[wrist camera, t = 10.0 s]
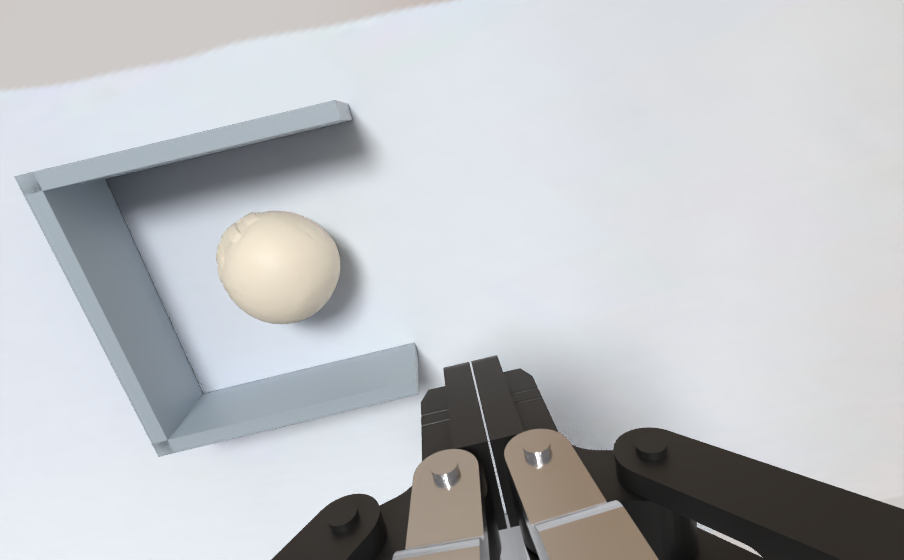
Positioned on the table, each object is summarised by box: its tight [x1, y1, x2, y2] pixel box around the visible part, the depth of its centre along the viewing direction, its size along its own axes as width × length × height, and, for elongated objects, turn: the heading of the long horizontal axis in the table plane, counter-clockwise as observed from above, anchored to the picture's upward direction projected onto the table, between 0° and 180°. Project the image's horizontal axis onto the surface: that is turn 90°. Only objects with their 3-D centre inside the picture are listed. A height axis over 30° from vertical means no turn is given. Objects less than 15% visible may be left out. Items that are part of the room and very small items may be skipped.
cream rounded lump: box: [216, 211, 340, 324], centre depth 30 cm, size 7×7×7 cm
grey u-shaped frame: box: [14, 100, 419, 457], centre depth 31 cm, size 17×18×6 cm
